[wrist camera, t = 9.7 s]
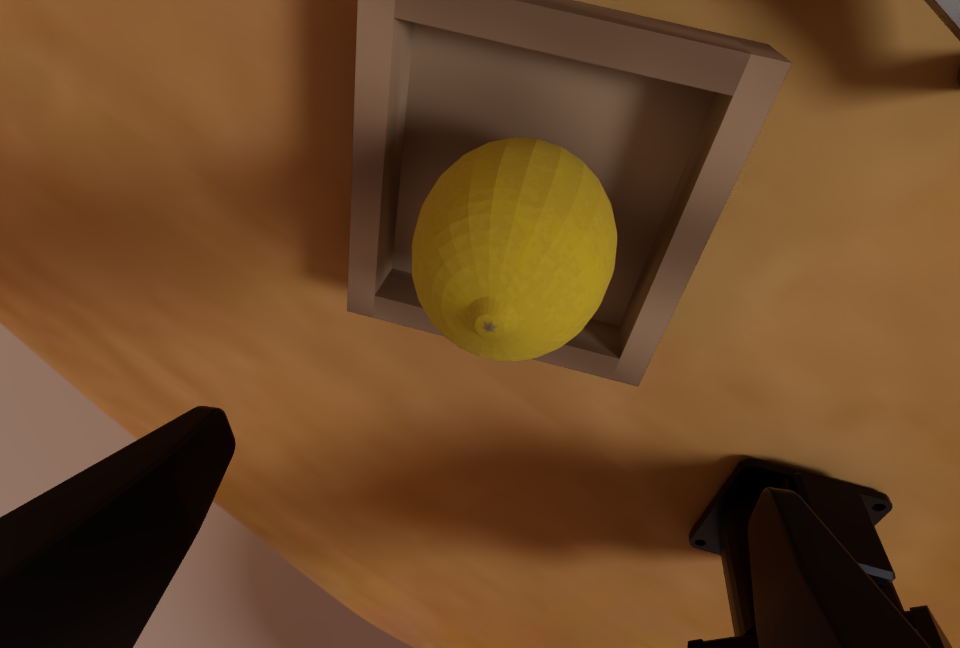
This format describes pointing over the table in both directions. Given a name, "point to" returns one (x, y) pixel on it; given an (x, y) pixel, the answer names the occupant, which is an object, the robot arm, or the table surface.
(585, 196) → the lemon
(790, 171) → the table surface
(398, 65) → the tray
